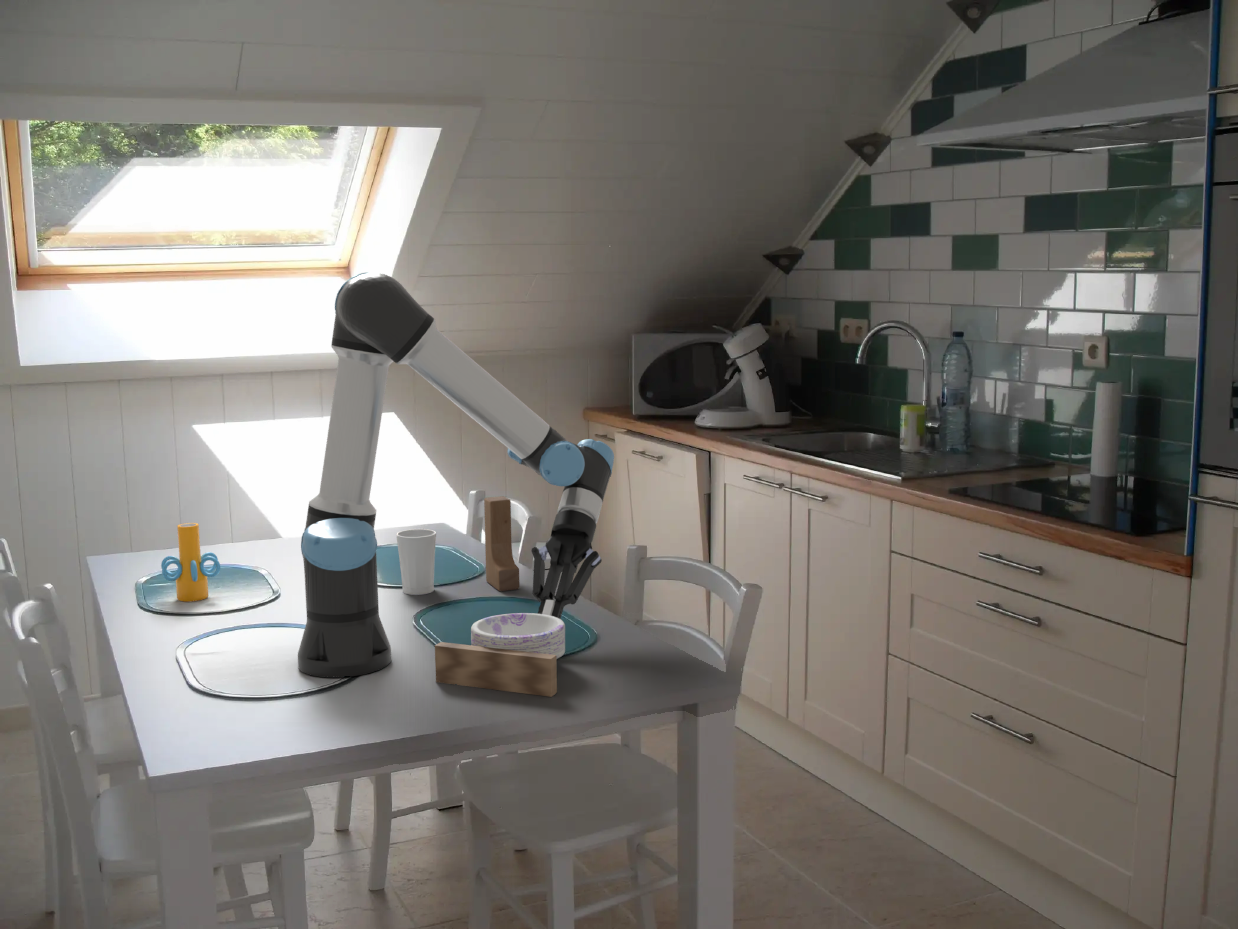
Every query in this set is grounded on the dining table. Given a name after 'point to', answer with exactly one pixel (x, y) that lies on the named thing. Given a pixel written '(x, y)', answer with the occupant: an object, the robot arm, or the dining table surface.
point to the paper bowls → (521, 633)
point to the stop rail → (496, 669)
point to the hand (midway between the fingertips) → (542, 637)
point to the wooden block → (499, 545)
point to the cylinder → (190, 565)
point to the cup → (417, 560)
